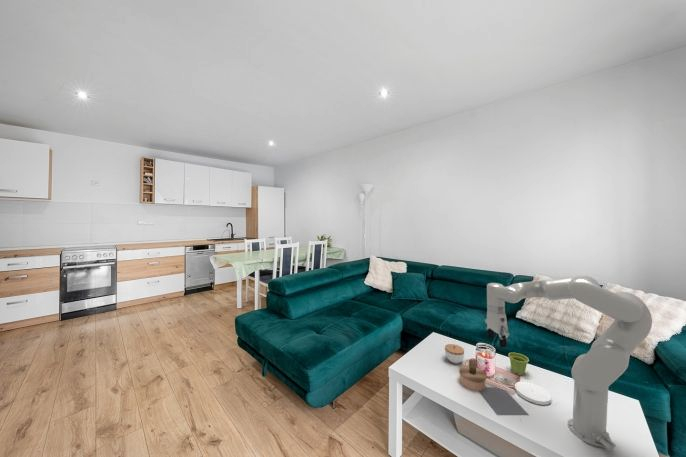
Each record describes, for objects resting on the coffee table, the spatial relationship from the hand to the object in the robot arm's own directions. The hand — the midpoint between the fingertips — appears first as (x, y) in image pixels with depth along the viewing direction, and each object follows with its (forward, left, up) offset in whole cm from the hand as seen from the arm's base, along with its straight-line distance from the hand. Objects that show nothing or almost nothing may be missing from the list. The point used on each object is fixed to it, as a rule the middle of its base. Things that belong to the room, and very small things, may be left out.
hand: (496, 342), depth 124 cm
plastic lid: (-4, -15, -25) cm, 29 cm away
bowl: (+4, +9, -24) cm, 27 cm away
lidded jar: (+25, +9, -25) cm, 37 cm away
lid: (+4, +9, -19) cm, 22 cm away
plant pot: (+14, -22, -25) cm, 36 cm away
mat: (-8, +2, -24) cm, 26 cm away
